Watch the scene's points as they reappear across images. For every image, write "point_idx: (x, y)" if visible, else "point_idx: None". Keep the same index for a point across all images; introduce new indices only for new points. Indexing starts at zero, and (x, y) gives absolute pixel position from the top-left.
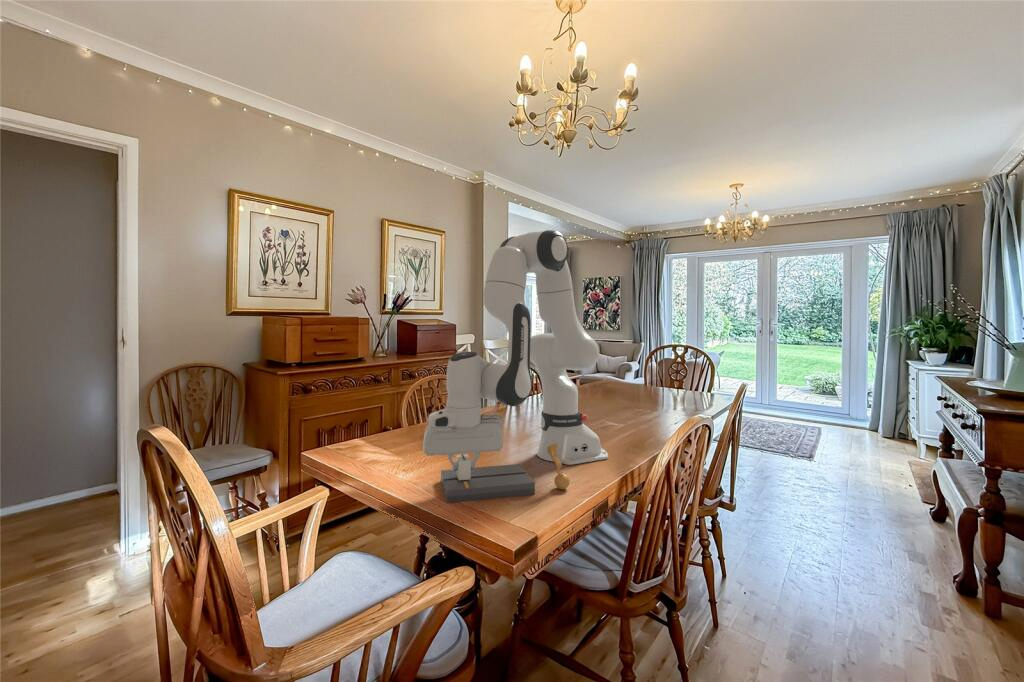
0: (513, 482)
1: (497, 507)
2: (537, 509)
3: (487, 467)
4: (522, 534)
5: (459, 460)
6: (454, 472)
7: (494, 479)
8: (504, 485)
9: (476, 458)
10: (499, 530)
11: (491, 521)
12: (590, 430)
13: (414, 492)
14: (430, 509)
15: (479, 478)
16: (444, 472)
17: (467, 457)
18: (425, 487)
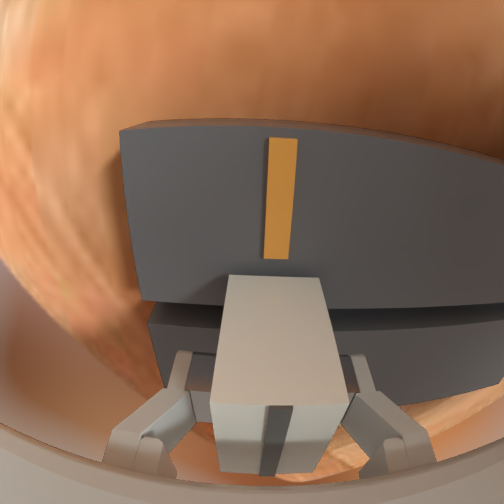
0: (455, 383)
1: None
2: (422, 419)
3: (484, 180)
4: (329, 470)
5: (226, 470)
6: (224, 203)
7: (419, 358)
8: (412, 403)
9: (372, 450)
10: None
11: None
12: None
13: (41, 245)
14: (129, 382)
15: (362, 338)
16: (144, 185)
17: (310, 448)
18: (73, 198)
